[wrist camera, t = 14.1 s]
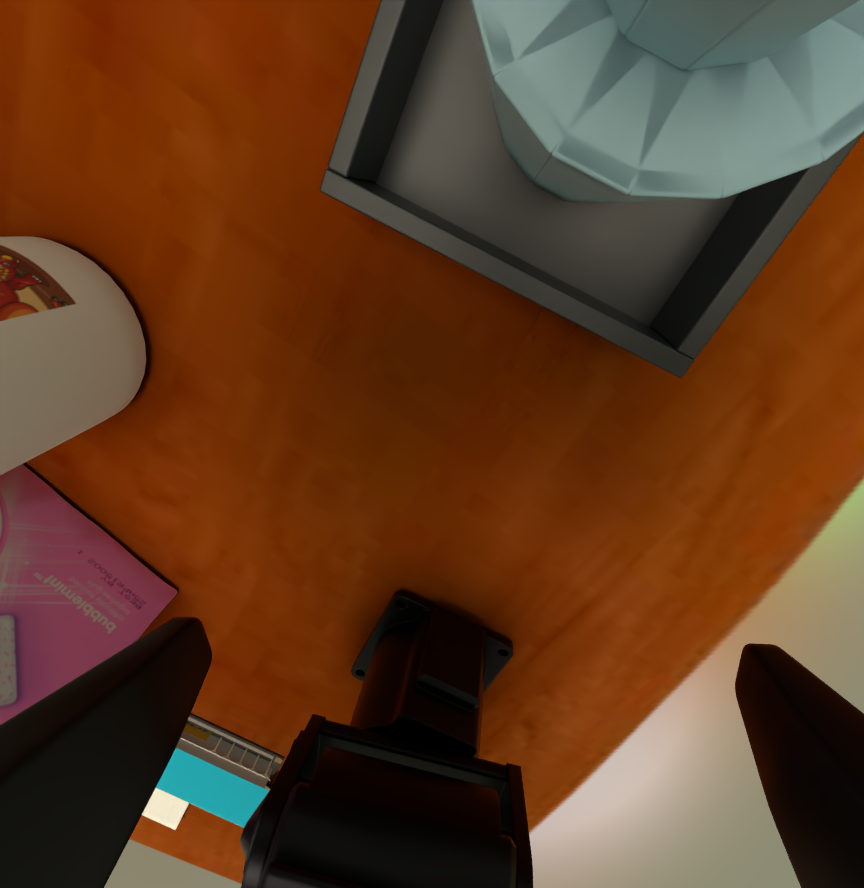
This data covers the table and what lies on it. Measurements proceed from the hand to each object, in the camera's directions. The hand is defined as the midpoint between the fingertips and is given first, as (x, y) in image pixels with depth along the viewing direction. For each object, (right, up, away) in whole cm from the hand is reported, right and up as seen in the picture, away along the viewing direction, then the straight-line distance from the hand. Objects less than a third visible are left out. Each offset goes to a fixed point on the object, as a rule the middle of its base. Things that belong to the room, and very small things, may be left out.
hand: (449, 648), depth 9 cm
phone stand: (-17, -18, +26) cm, 36 cm away
